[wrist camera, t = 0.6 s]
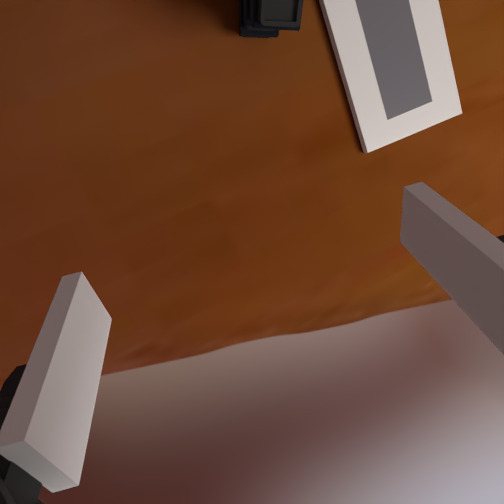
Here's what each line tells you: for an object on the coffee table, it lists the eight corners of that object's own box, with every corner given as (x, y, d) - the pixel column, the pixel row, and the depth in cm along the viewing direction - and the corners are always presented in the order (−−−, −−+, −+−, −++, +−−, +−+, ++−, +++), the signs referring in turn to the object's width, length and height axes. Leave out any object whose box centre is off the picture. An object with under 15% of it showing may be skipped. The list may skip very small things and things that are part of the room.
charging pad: (303, -52, 36) (313, -72, 33) (410, -92, 36) (430, -115, 33) (363, 153, 41) (376, 152, 38) (455, 114, 42) (475, 110, 39)
